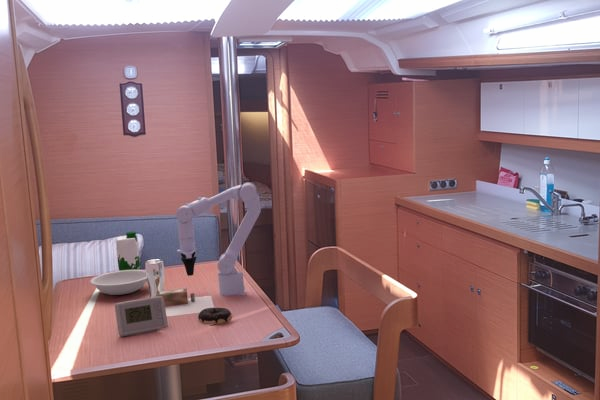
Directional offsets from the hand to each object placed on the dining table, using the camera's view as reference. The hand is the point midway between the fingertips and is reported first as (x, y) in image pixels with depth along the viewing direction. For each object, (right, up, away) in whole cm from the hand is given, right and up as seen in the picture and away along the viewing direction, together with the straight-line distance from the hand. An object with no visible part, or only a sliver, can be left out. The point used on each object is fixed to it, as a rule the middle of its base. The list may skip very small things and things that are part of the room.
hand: (189, 272), depth 260 cm
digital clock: (-10, -16, -34) cm, 39 cm away
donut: (+13, -14, -28) cm, 33 cm away
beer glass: (-13, -11, +3) cm, 17 cm away
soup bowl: (-30, -10, +16) cm, 35 cm away
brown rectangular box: (-5, -11, -8) cm, 14 cm away
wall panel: (-1, -12, -12) cm, 17 cm away
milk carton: (-32, -7, +40) cm, 52 cm away
